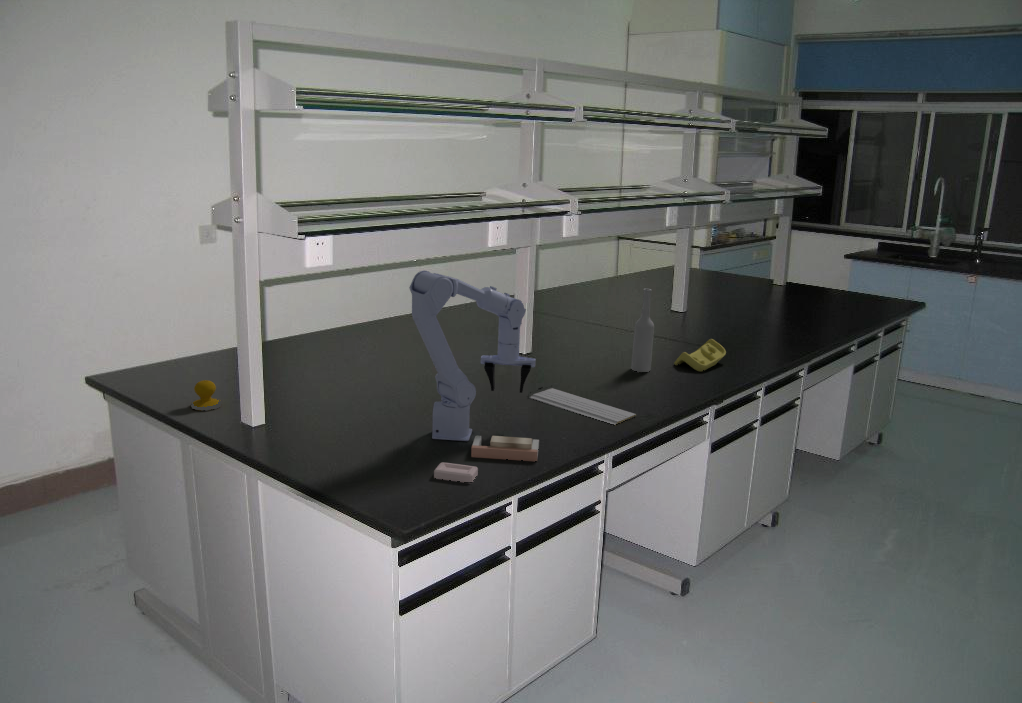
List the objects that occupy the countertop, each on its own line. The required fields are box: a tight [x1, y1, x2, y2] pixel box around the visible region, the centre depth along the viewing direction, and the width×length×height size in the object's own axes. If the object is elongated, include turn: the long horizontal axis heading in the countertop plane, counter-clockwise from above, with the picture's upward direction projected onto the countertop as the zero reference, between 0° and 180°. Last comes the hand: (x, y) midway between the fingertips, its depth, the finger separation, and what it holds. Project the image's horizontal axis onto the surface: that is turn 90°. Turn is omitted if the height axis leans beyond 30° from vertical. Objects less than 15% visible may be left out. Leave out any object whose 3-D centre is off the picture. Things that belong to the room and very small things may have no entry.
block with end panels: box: [470, 435, 540, 462], centre depth 198 cm, size 16×8×2 cm, turn 85°
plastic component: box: [673, 338, 727, 372], centre depth 282 cm, size 20×7×10 cm
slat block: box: [489, 435, 533, 449], centre depth 197 cm, size 10×4×4 cm, turn 85°
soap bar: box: [433, 461, 479, 483], centre depth 183 cm, size 5×9×2 cm, turn 77°
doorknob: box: [192, 379, 220, 407], centre depth 221 cm, size 8×8×8 cm
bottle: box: [630, 288, 655, 373], centre depth 269 cm, size 7×7×28 cm
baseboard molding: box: [526, 385, 637, 426], centre depth 232 cm, size 31×3×12 cm
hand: (507, 390), depth 215 cm, fingers open, 7 cm apart
